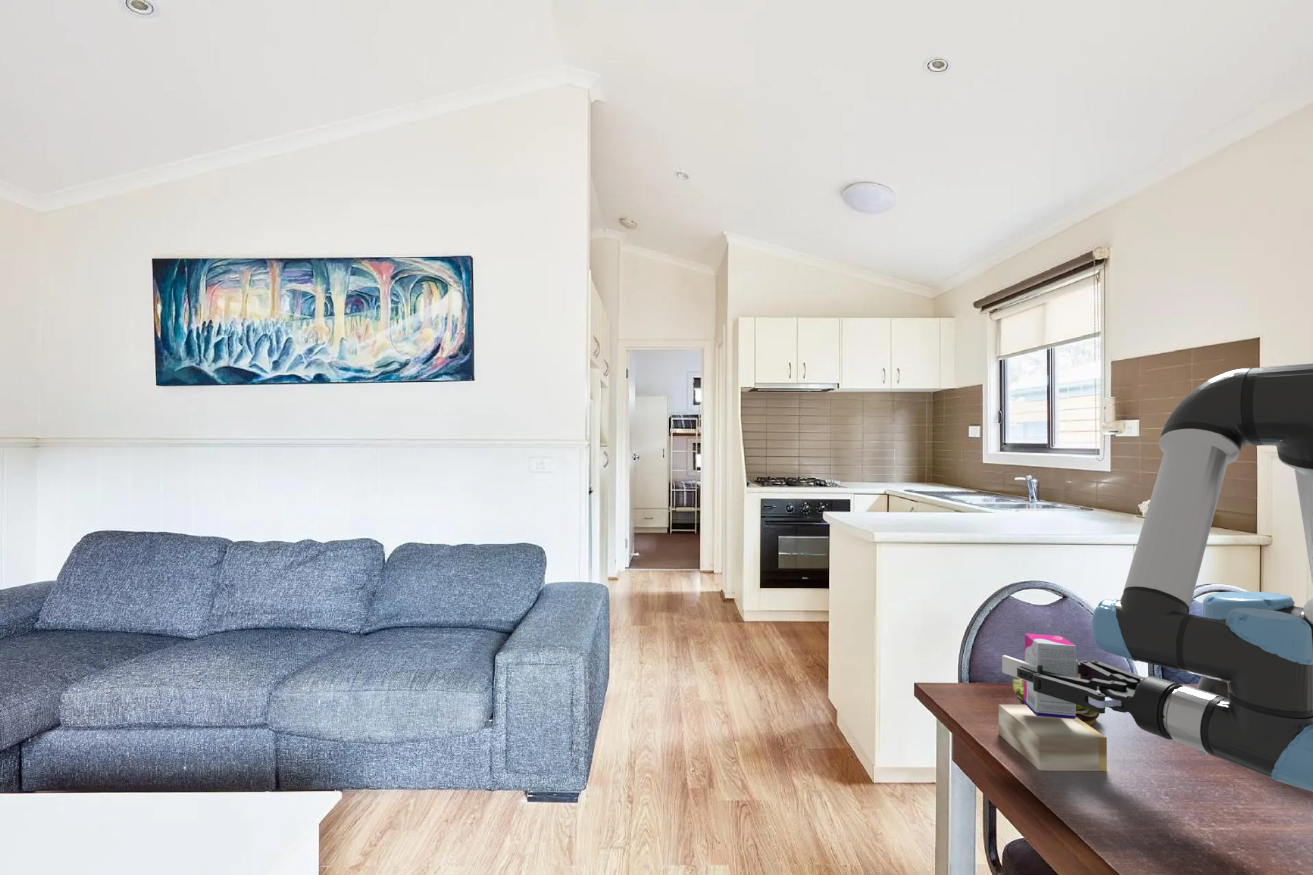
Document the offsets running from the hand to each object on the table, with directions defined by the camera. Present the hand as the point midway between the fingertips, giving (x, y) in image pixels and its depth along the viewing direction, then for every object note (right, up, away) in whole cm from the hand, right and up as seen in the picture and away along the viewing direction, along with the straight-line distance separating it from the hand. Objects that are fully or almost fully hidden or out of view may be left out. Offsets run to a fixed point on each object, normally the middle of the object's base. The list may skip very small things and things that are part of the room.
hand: (1021, 660), depth 107 cm
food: (+11, -13, +10) cm, 20 cm away
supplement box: (+2, -7, -5) cm, 8 cm away
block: (+2, -13, -5) cm, 14 cm away
